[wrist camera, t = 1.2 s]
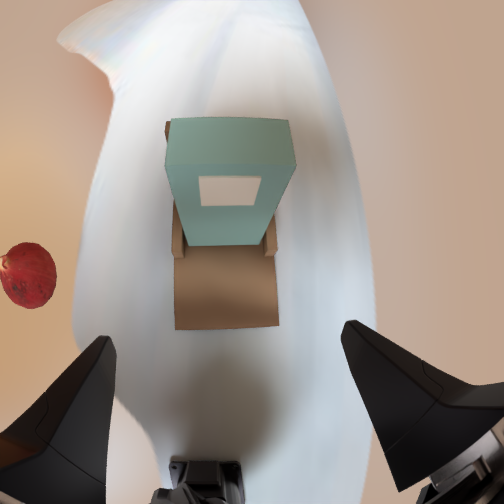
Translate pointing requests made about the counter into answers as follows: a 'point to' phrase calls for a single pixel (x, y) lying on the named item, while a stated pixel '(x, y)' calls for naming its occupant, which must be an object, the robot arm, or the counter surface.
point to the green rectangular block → (228, 176)
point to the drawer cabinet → (223, 281)
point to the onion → (28, 275)
